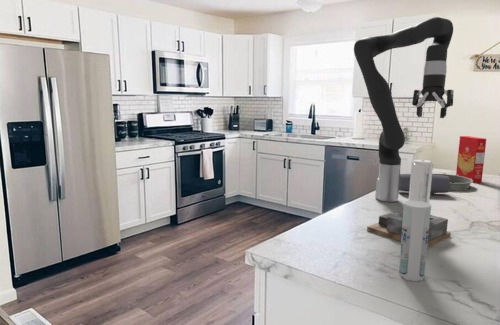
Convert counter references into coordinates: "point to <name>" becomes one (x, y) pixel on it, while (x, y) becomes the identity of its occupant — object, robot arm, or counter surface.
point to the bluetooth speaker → (437, 183)
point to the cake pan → (458, 182)
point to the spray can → (414, 239)
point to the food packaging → (471, 158)
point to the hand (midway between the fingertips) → (430, 117)
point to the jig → (393, 228)
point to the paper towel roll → (420, 181)
